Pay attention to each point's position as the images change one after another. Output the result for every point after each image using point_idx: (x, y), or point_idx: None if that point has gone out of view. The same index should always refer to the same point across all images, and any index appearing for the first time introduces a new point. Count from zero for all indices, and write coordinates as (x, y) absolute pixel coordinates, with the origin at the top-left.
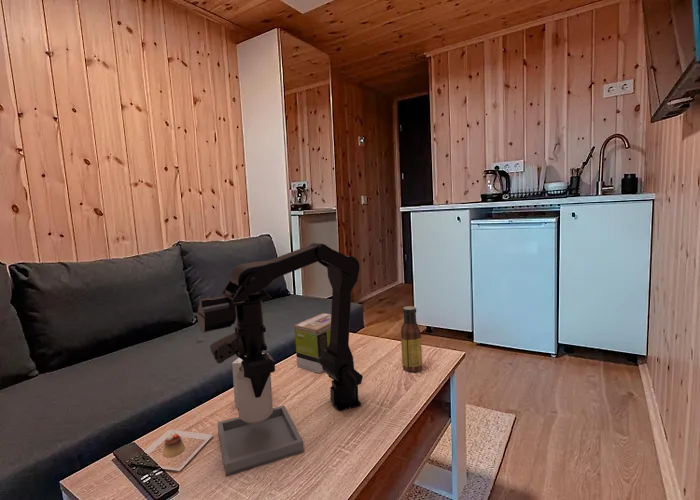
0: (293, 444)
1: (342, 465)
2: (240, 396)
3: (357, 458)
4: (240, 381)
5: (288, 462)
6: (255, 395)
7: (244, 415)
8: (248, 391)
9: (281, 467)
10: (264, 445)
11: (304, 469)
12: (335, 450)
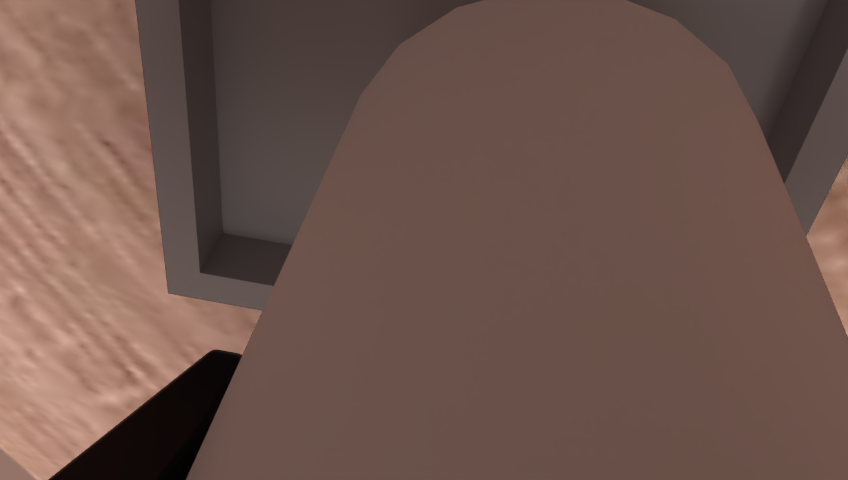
0: (161, 231)
1: (7, 331)
2: (439, 185)
3: (39, 400)
4: (322, 476)
5: (135, 124)
6: (176, 380)
7: (424, 53)
8: (246, 367)
9: (100, 65)
10: (375, 59)
11: (33, 173)
12: (140, 365)
